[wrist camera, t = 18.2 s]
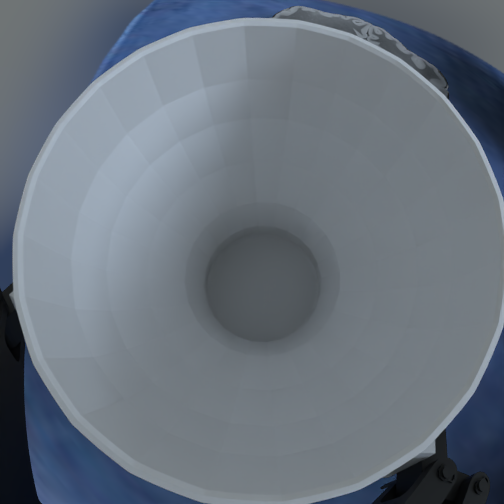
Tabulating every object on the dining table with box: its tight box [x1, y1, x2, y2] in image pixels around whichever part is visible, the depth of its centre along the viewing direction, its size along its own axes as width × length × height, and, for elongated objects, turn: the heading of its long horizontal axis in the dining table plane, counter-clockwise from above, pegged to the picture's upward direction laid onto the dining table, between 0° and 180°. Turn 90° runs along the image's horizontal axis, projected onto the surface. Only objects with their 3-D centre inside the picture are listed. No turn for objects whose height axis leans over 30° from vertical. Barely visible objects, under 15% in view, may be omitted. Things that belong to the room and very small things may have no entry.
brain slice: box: [272, 6, 449, 100], centre depth 23 cm, size 20×17×3 cm
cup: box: [13, 18, 504, 504], centre depth 11 cm, size 11×11×15 cm
